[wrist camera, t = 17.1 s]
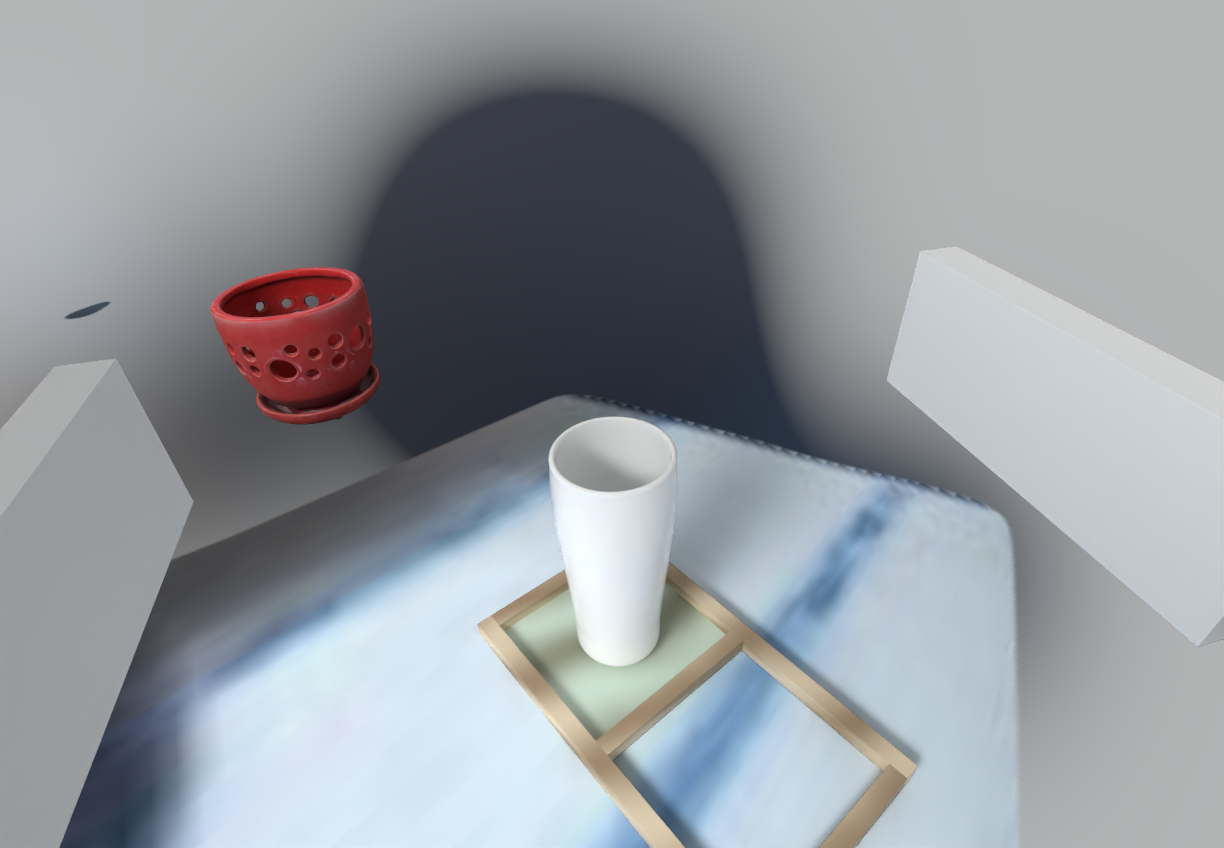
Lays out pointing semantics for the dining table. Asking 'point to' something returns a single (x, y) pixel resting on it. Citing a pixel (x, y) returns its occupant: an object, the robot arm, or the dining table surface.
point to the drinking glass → (615, 531)
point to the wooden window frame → (662, 691)
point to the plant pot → (301, 342)
